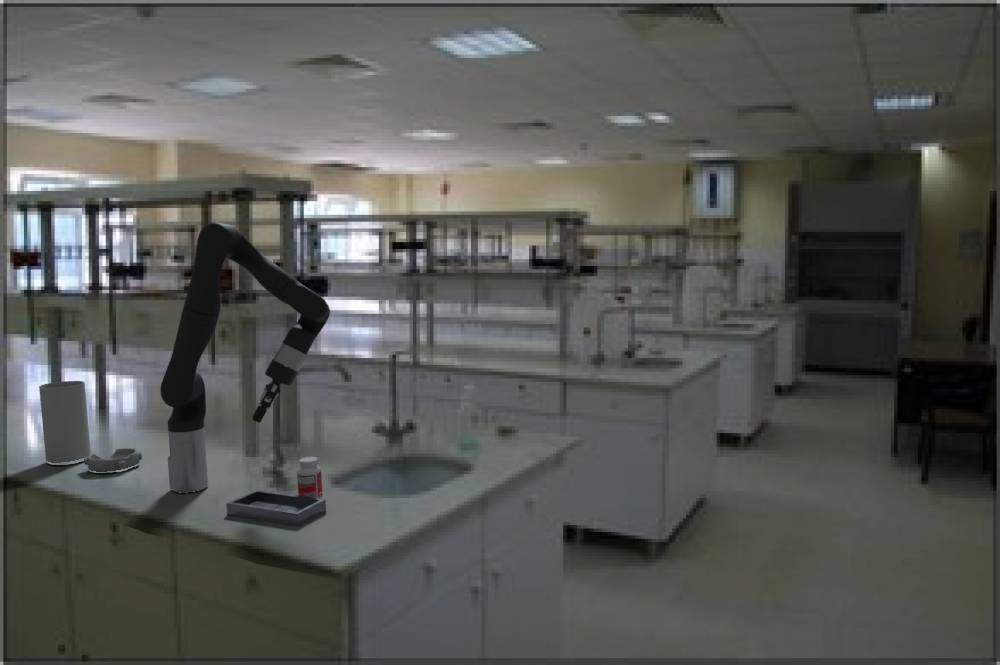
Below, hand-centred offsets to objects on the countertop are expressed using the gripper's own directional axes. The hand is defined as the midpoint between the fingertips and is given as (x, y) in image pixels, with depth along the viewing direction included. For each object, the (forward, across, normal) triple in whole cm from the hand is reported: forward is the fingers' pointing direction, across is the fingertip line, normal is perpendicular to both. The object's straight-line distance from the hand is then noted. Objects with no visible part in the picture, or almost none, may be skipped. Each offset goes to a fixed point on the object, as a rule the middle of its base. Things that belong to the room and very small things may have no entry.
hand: (255, 420), depth 193 cm
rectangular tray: (+18, +7, +15) cm, 24 cm away
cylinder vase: (+40, -68, -43) cm, 90 cm away
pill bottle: (+13, 0, +22) cm, 26 cm away
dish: (+34, -53, -28) cm, 69 cm away
